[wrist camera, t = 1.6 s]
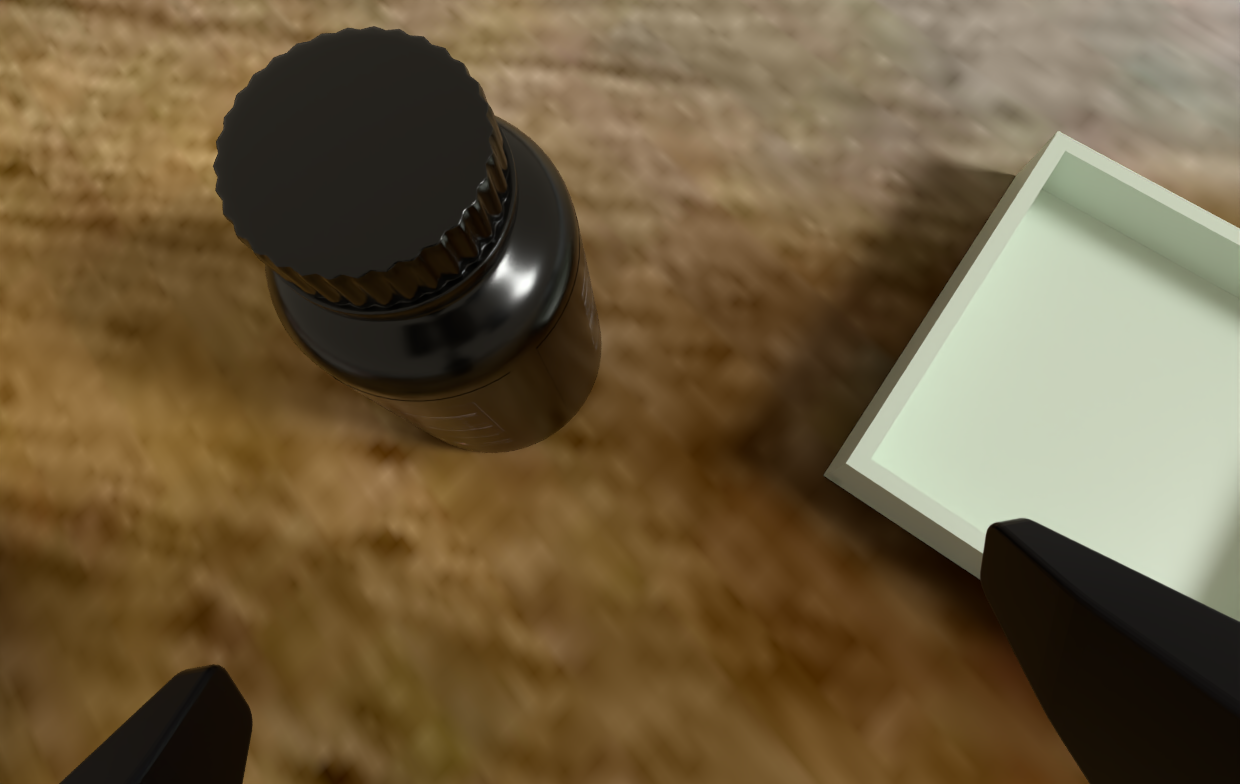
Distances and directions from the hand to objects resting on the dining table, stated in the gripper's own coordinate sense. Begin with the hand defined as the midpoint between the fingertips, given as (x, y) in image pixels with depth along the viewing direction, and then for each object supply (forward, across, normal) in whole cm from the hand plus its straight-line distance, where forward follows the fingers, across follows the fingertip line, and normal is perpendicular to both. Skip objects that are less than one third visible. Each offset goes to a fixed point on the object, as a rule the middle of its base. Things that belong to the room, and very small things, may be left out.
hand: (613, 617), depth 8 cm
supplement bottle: (+15, +3, +4) cm, 16 cm away
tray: (+11, -15, +8) cm, 21 cm away
